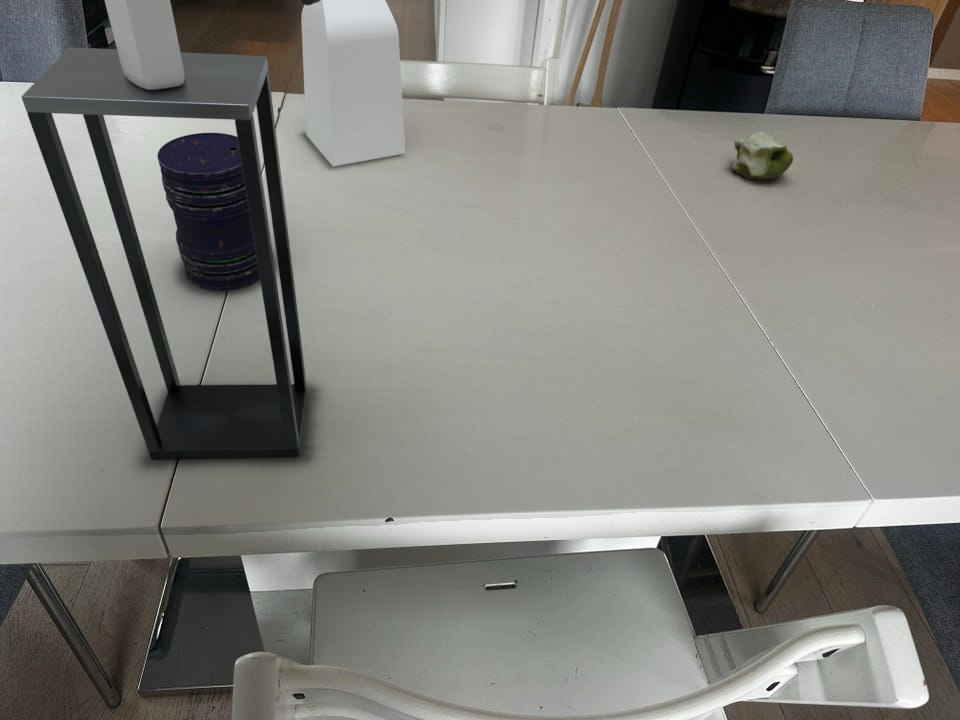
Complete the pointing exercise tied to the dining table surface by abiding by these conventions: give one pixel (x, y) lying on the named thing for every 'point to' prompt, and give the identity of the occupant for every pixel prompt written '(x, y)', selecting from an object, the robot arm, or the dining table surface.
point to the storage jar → (210, 210)
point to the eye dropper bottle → (147, 42)
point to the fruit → (761, 157)
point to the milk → (352, 80)
